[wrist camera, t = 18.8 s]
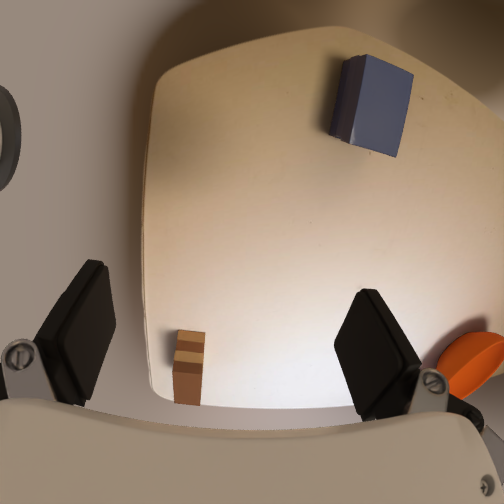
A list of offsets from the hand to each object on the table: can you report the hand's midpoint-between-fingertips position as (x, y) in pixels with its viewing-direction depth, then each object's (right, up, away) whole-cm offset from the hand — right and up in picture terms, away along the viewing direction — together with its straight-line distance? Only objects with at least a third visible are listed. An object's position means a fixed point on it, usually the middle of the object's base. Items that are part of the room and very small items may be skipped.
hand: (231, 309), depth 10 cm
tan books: (-10, -15, +38) cm, 42 cm away
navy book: (+14, +18, +16) cm, 28 cm away
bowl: (+56, -24, +48) cm, 78 cm away
